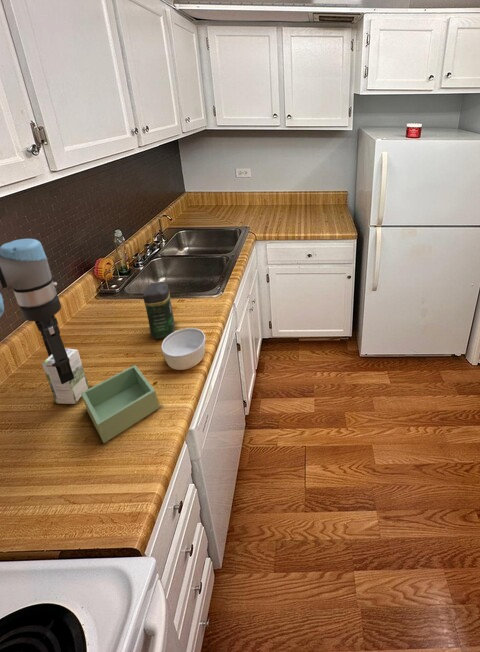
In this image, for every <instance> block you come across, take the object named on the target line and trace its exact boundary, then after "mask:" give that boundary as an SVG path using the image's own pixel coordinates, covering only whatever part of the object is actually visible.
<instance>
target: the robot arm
mask: <svg viewBox="0 0 480 652" xmlns="http://www.w3.org/2000/svg"><path fill="white" fill-rule="evenodd" d="M52 275H53V274H52V272H51V268H50V264H49V262H48V258H47V255H46V253H45V250H44V247H43V244H42V242H41V241H39V240H38V239H35V238H21V239H15V240H11V241H9V242H5V243H3V244H2V245H1V246H0V290H2V289H5V288H6V289H7V288H8V287H12V291H13V295H14V297H15V299H16V303H17V304H18V306H19V310H20V312H21V315H22V318H23V320H25V321H27V322H34V324H35V326H36V328H37V330H38V332H40V336H42V337H41V338H42V340H43V344H44V346H45V349H46V352H47V355H48V357H50V356H51V355H53V358H54V360H55V363H54V364H52V366H53V367H54V366H56V369H57V372H58V375H59V378H60V381H61V384H64V383H66V382H68V381H70V380H72V379H74V376H73V372H72V369H71V366H70V363H69V362H70V359H69V358H68V356H67V353H66V350H65V348H66V347H65V345H64V342H63V340H62V337H61V331H60V328H59V326H58V324H59V322H58V319H57V317H55V315H57V314H58V313H59V312H60V311H61V309H62V305H61V301H60V298H59V295H58V293H57V289H56V287H57V286H58V283H57V282H56V281H54V280H53V279H54V278H53V276H52ZM4 311H5V304H4V298H3V295H2V293H1V292H0V318H1V317H2V316H3V314H4Z"/></svg>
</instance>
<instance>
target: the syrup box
mask: <svg viewBox="0 0 480 652" xmlns="http://www.w3.org/2000/svg"><path fill="white" fill-rule="evenodd" d="M65 350H66V353H67V356H68V358H69V359H70V362H69V363H70V366H71V369H72V372H73V376H74V379H72V380H70V381H68V382H66V383H64V384H61V381H60V378H59V375H58V372H57V369H56V366H54V367H53V366H52V364H54V363H55V360H54V358H53V355H51V356H50V357H49V356H48V357H47V358H46V359H45V360H44V361H42V363H41V366H42V368H43V371H44V374H45V377H46V380H47V382H48V385H49V388H50V390H51V393H52V396H53V399H54V402H55V404H64V405H65V404H66V405H76V404H77V403H78V402H79V401H80V400H81V399H82V395H81V393H82V392H83V391H86V390H87V389H89V388H90V385H89V382H88V380H87V375H86V373H85V369H84V365H83V362H82V360H81V357H80V353H79V350H78V349H75V348H66V347H65Z"/></svg>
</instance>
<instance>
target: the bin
mask: <svg viewBox="0 0 480 652" xmlns="http://www.w3.org/2000/svg"><path fill="white" fill-rule="evenodd" d="M81 395H82V397H81V399H82V400H83V403H84V406H85V409H86V411H87V414H88V415H89V418H90V420H91V421H92V423H93V426H94V428H95V429H96V431H97V433H98V435H99V437H100V439H101V441H102V443H103V444H105V443H107V442H109V441H110V440H112V439H113V438H115V437H116V436H118V435H120V434H121V433H122V432H125V431H126V430H127V429H130V427H132V426H133V425H135V424H137V423H139V422H140V421H141V420H143V419H144V418H146V417H148V416H149V415H151V414H152V413H154V412H156V411H157V410H159V409H160V405H159V400H158V397H157V396H158V395H157V391H156V390H155V388H154V387H153V386H152V384H151V383H150V382H149V380H148V379H147V378H146V377H145V375H144V374H143V373H142V371H141V370H140V369H139V368H138V366H137V365H136V364H134V365H132V366H130V367H128V368H125V369H124V370H122V371H120V372H118V373H116V374H114V375H113V376H110V377H109V378H107V379H104V380H103V381H101V382H99V383H97V384H95V385H93V386H91V387H89V389H87V390H86V391H83V392H82V393H81Z"/></svg>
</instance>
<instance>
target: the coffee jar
mask: <svg viewBox="0 0 480 652" xmlns="http://www.w3.org/2000/svg"><path fill="white" fill-rule="evenodd" d="M142 297H143V303H144V307H145V311H146V317H147V320H148V326H149V331H150V336H151V338H152V339H155V340H161V339H162V340H164V339H165V338H166V337H167V336H168V335H170V334H171V333H173V332H175V328H176V321H175V317H174V311H173V306H172V300H171V295H170V289H169V285H168V284H167V283H166V282H164V281H158V282H157V281H156V282H151V283H150V284H148V285H147V286H146V287H145V289H144V291H143V295H142Z"/></svg>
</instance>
